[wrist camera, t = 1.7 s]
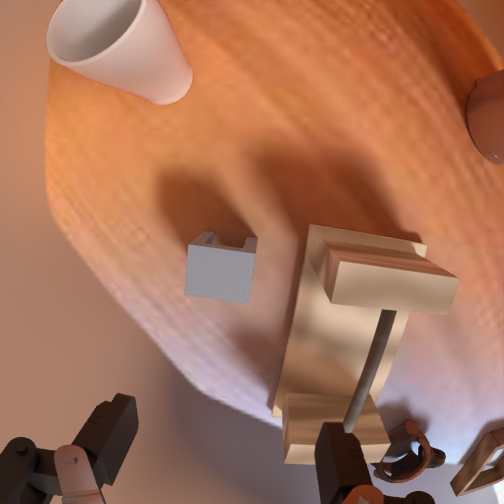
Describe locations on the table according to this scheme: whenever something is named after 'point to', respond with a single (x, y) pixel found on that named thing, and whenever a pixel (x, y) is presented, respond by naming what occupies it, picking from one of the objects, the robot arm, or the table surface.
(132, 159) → the table surface
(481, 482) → the open wooden frame
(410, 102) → the table surface
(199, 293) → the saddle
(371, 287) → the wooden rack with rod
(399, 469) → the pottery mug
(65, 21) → the drinking glass
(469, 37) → the table surface
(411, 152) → the table surface
